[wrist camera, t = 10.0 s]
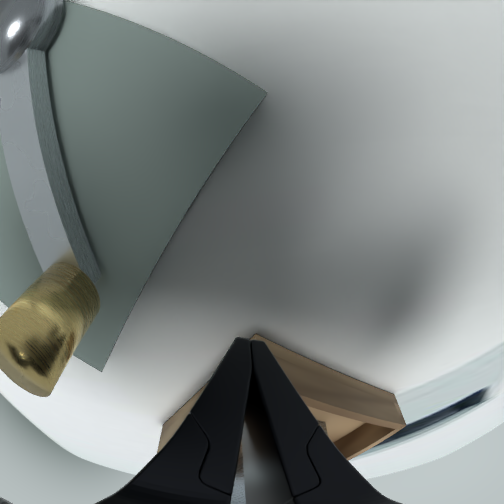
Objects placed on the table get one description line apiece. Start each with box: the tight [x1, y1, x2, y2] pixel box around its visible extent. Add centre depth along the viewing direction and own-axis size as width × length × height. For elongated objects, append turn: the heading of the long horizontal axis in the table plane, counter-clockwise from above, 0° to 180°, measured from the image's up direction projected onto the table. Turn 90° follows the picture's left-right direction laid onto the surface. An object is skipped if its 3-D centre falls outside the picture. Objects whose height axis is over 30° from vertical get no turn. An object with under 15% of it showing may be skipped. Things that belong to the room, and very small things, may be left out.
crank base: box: [0, 0, 268, 372], centre depth 8 cm, size 14×12×2 cm
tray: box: [157, 334, 406, 460], centre depth 14 cm, size 10×10×2 cm
